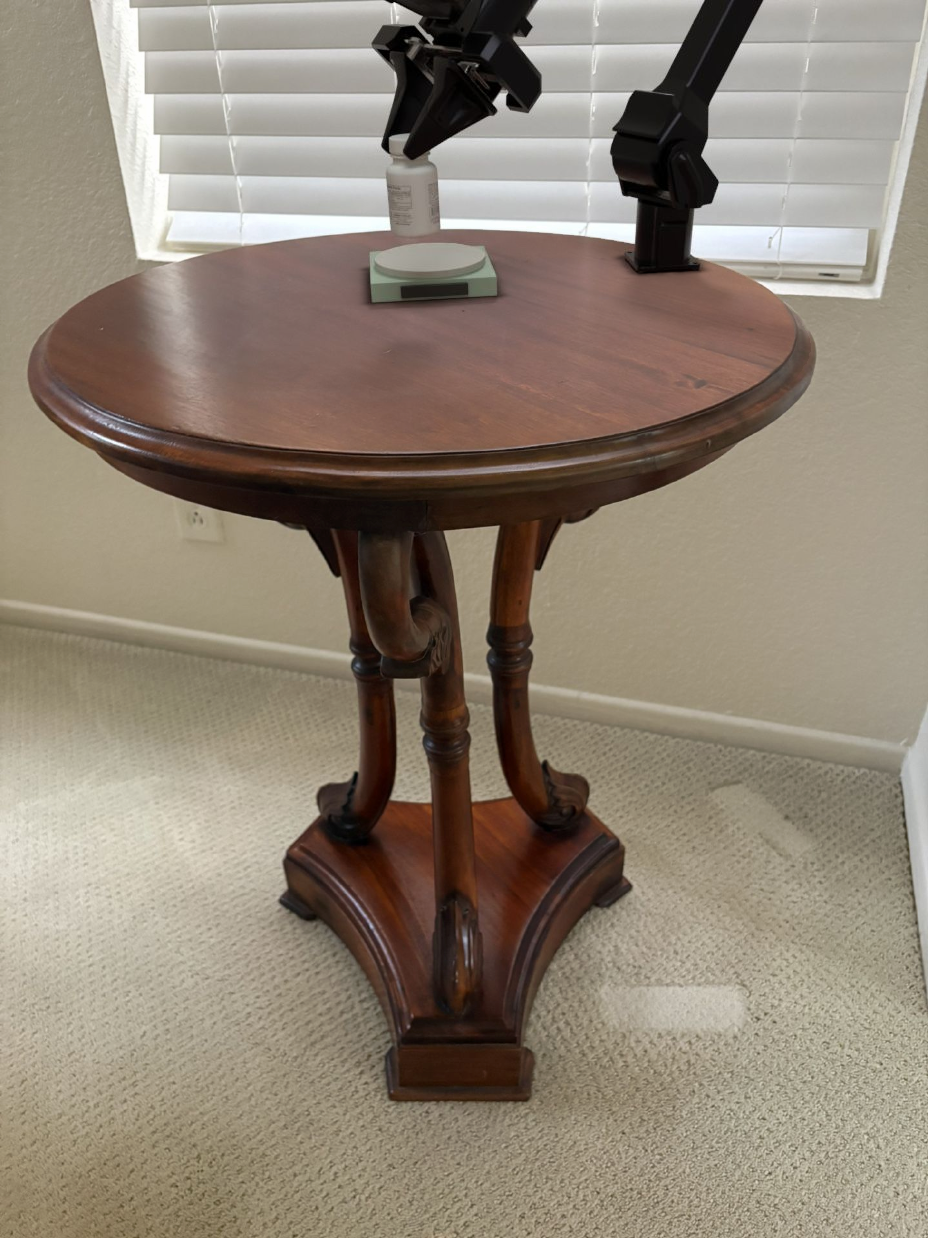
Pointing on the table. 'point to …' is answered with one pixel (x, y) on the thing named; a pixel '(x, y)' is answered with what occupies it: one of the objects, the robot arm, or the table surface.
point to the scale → (431, 272)
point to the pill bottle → (412, 192)
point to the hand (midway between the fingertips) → (395, 153)
